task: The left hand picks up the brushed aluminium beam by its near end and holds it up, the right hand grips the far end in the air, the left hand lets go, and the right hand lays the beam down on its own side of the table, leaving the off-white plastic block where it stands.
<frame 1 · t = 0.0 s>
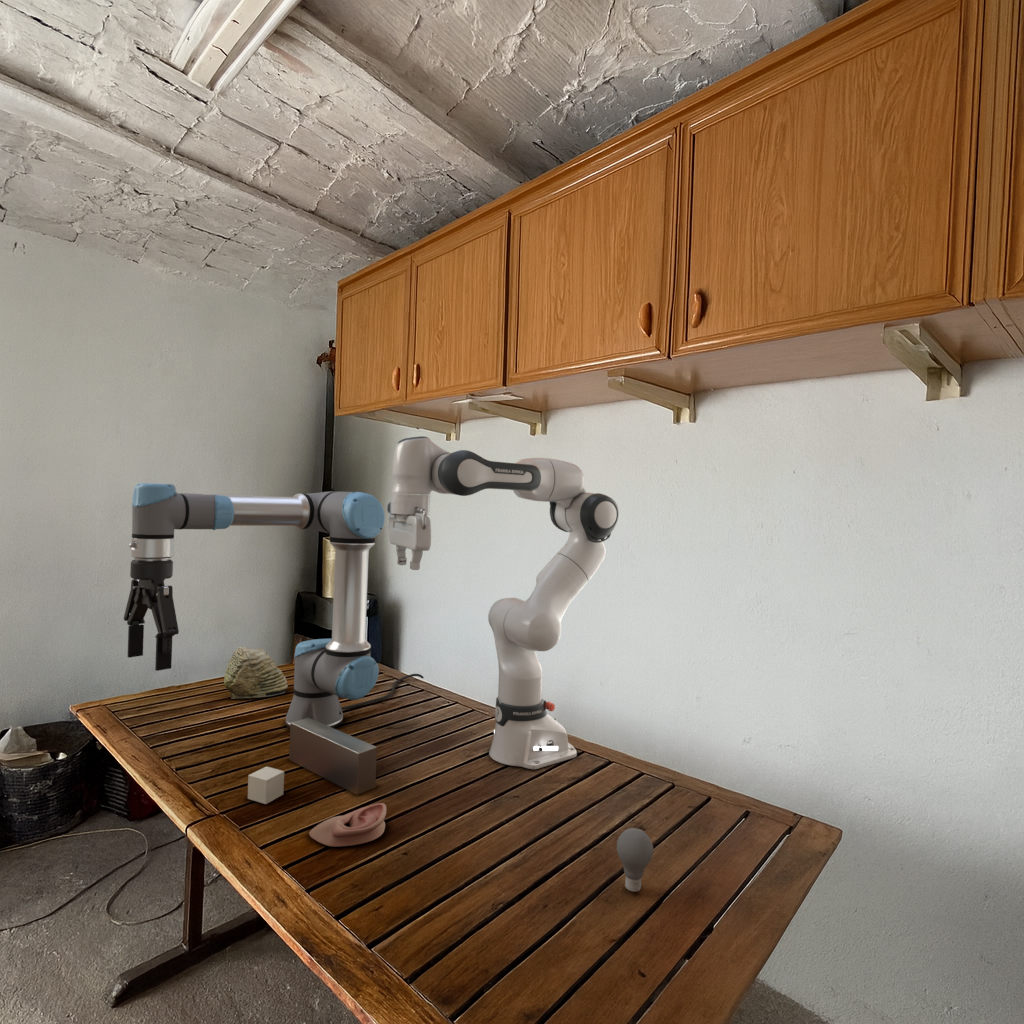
left hand: (148, 662, 129), 28 cm above the table, fingers open, 13 cm apart
right hand: (408, 567, 145), 48 cm above the table, fingers open, 8 cm apart
light bulb: (632, 890, 106), on the table
anatomical model: (348, 832, 120), on the table
beam: (330, 773, 145), on the table
plastic block: (265, 796, 133), on the table
fossil: (255, 695, 198), on the table
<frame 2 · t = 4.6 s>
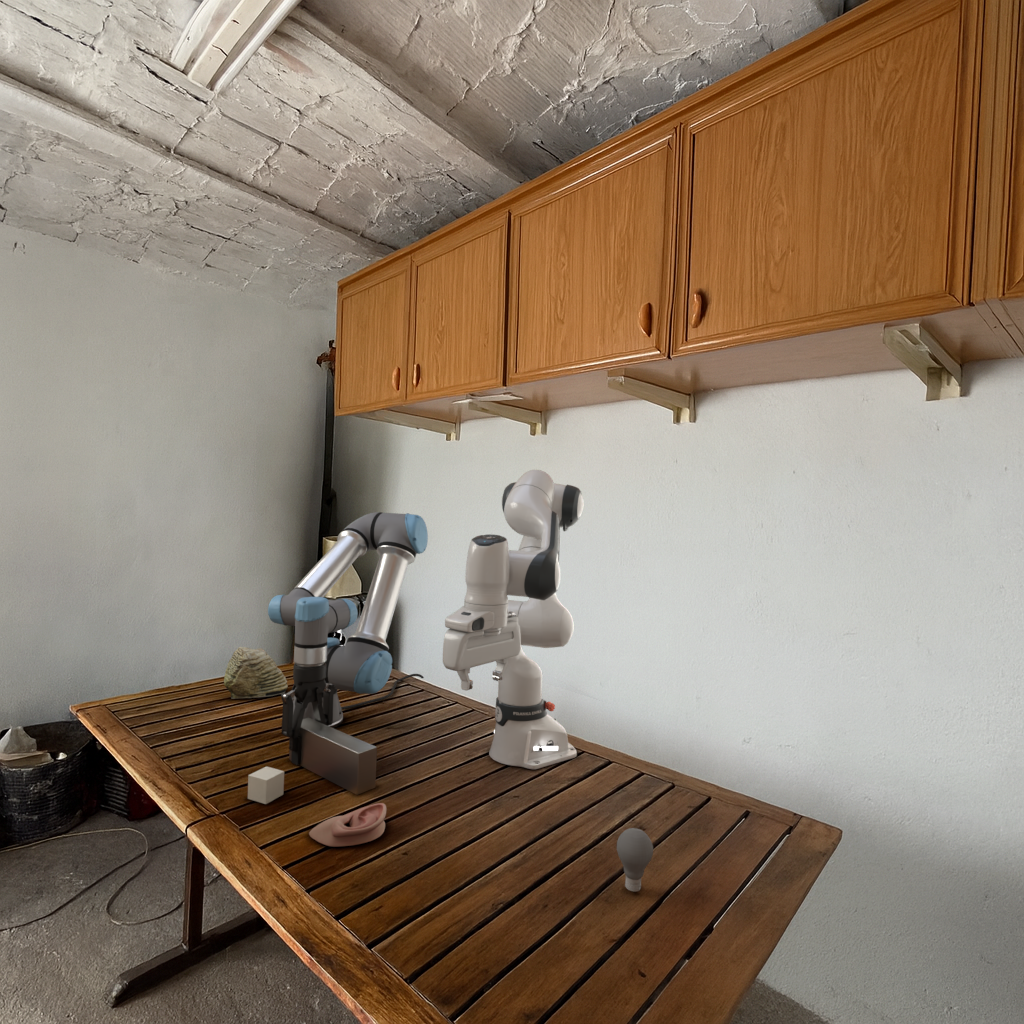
left hand: (306, 759, 151), 0 cm above the table, fingers closed on beam, 5 cm apart
right hand: (482, 684, 127), 27 cm above the table, fingers open, 8 cm apart
beam: (330, 773, 145), on the table, touching left hand
everything else where it was.
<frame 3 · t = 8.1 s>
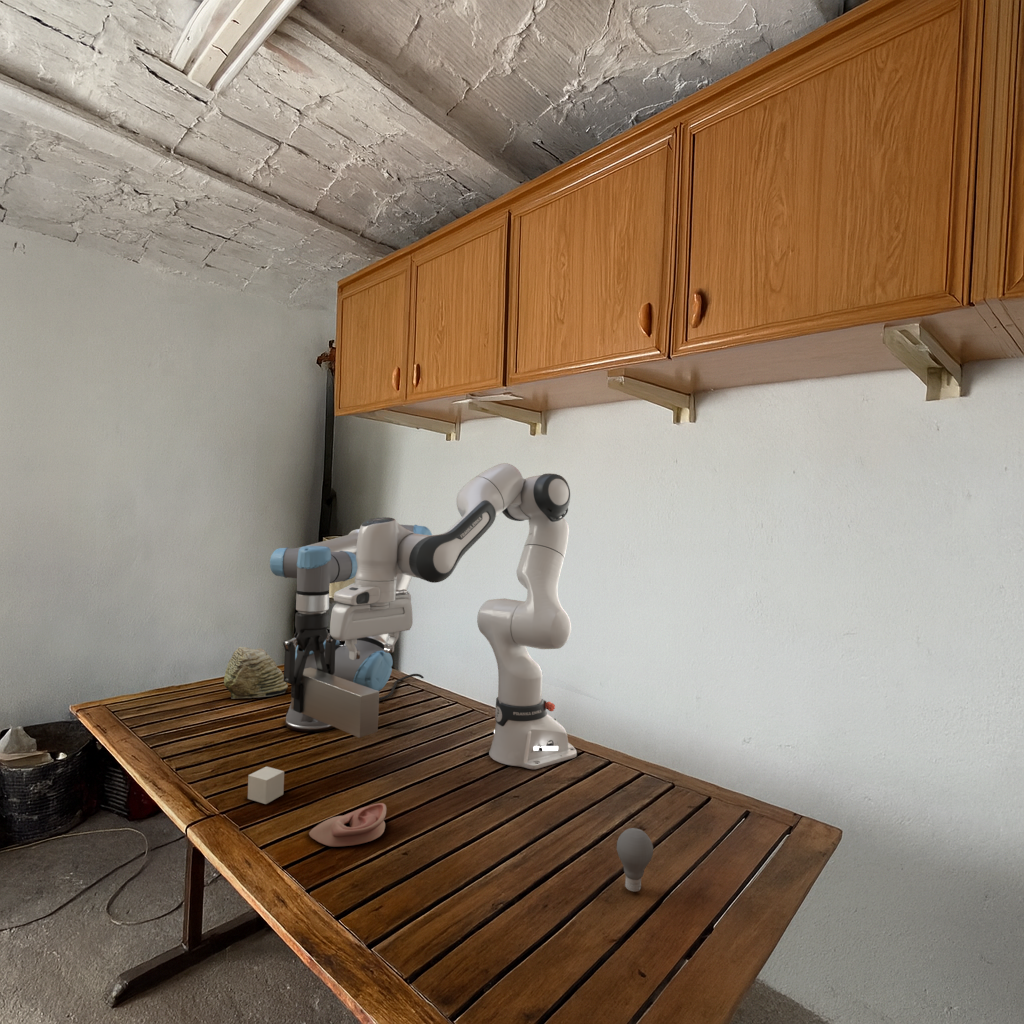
left hand: (308, 708, 151), 13 cm above the table, fingers closed on beam, 5 cm apart
right hand: (372, 655, 138), 29 cm above the table, fingers open, 8 cm apart
beam: (332, 719, 145), point 12 cm above the table, touching left hand
everything else where it was.
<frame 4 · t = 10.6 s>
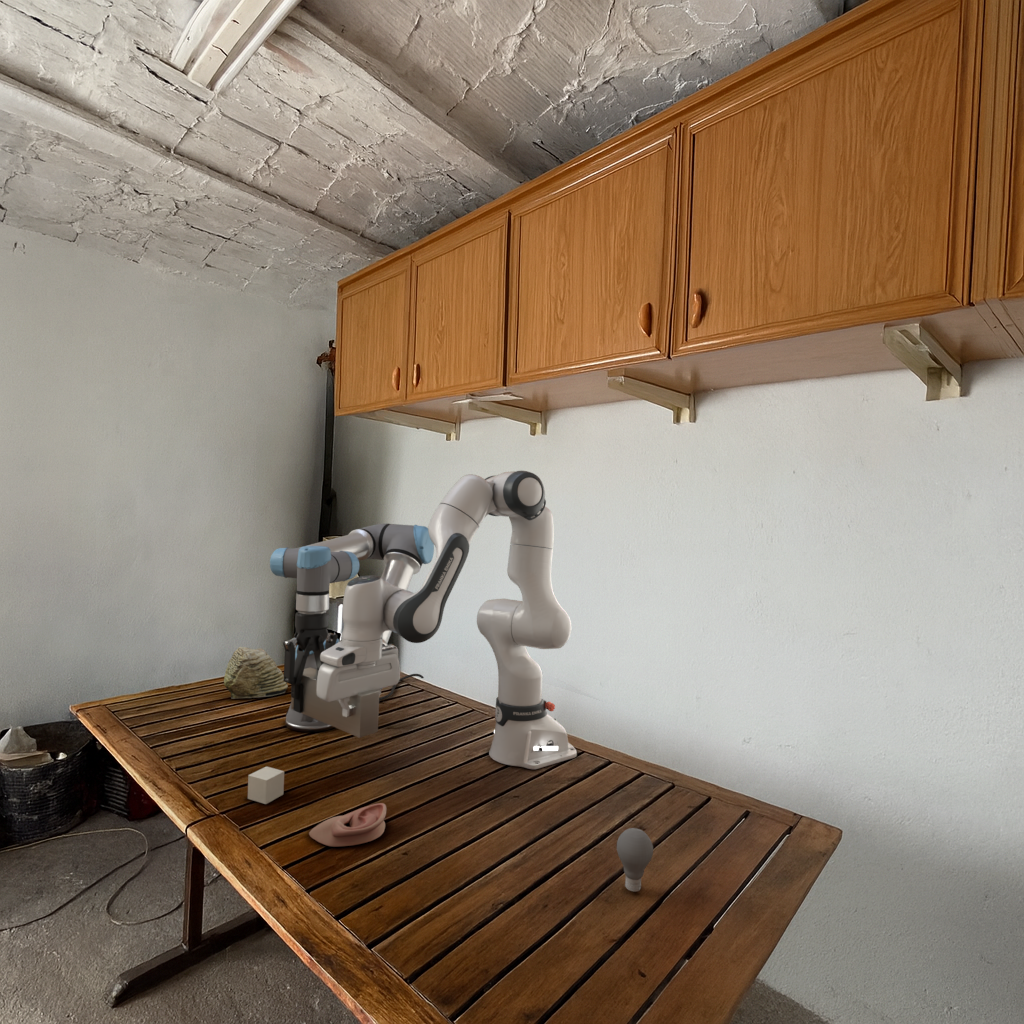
left hand: (308, 708, 151), 13 cm above the table, fingers closed on beam, 5 cm apart
right hand: (359, 712, 139), 16 cm above the table, fingers closed on beam, 5 cm apart
beam: (332, 719, 145), point 12 cm above the table, touching left hand, right hand
everything else where it was.
when the left hand's fingers open (13 cm above the table, at t = 11.5 s): beam stays where it is, held by the right hand.
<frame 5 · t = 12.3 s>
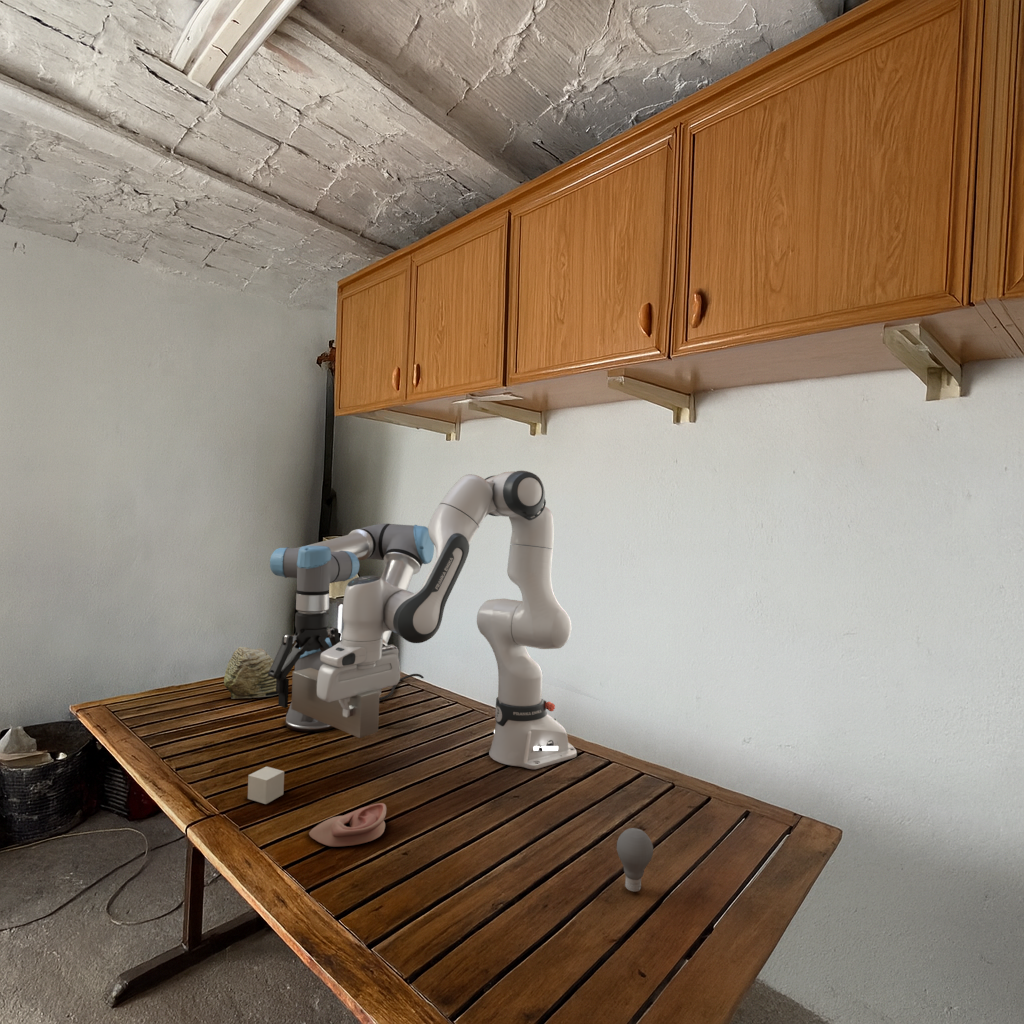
left hand: (308, 699, 151), 15 cm above the table, fingers open, 13 cm apart
right hand: (359, 712, 139), 16 cm above the table, fingers closed on beam, 5 cm apart
beam: (332, 720, 145), point 12 cm above the table, touching right hand
everything else where it was.
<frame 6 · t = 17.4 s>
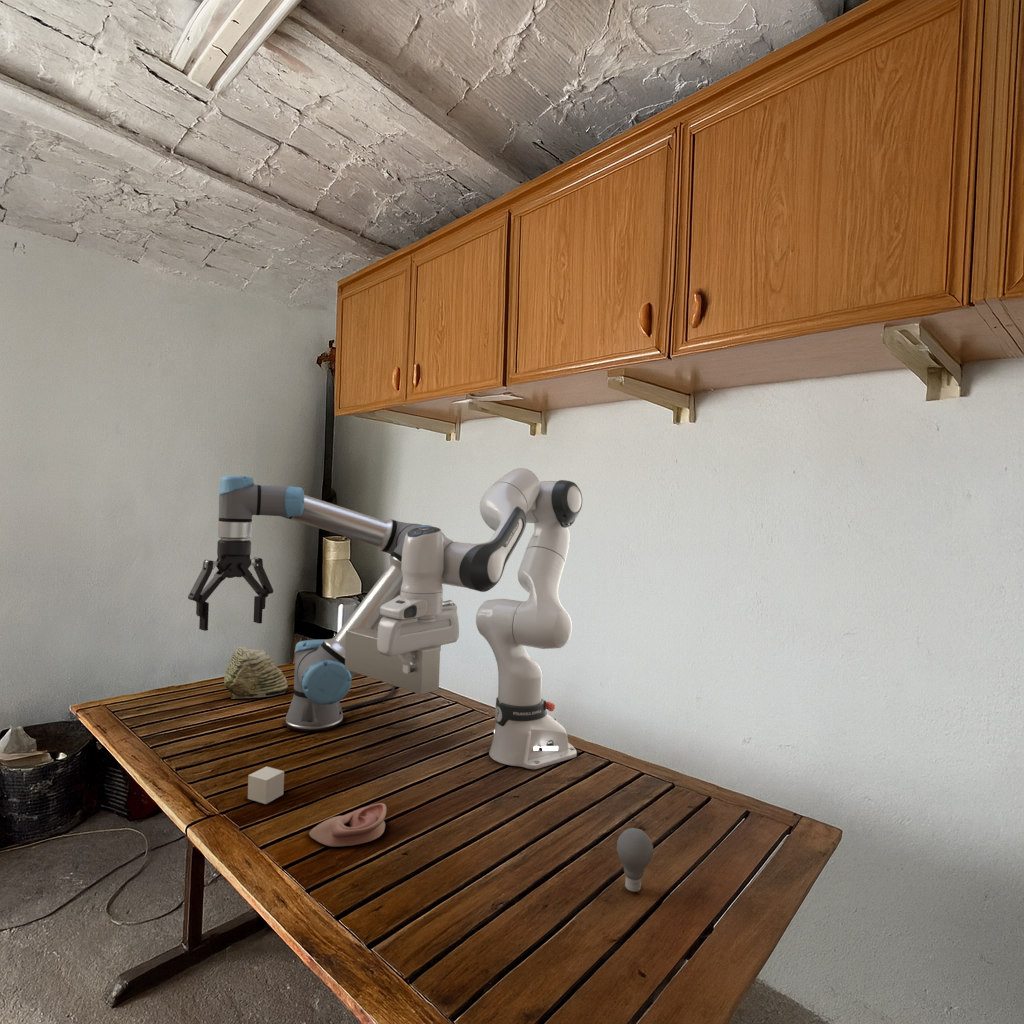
left hand: (231, 626, 154), 31 cm above the table, fingers open, 13 cm apart
right hand: (419, 669, 133), 28 cm above the table, fingers closed on beam, 5 cm apart
beam: (389, 678, 140), point 24 cm above the table, touching right hand
everything else where it was.
when the right hand's fingers open (5 cm above the table, at t = 24.2 s): beam stays where it is, on the table.
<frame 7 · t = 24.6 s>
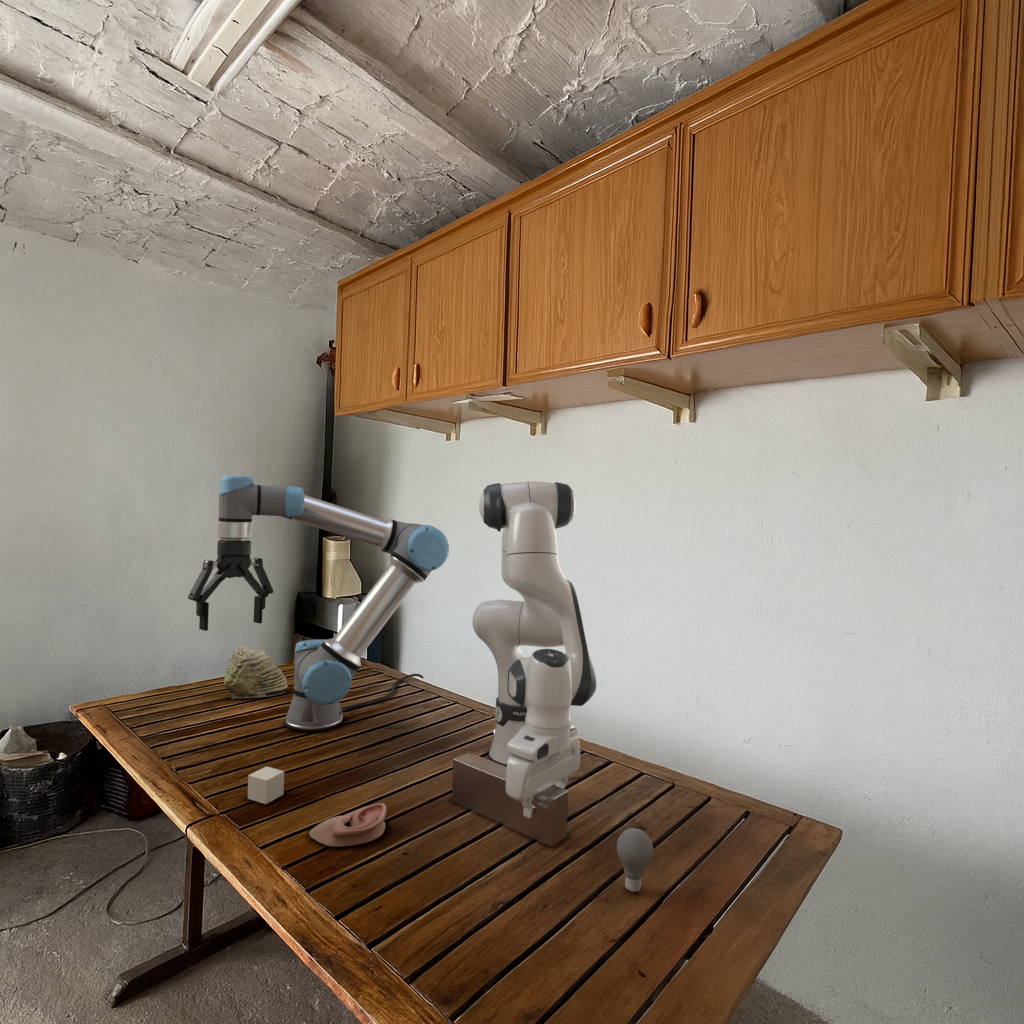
left hand: (231, 626, 154), 31 cm above the table, fingers open, 13 cm apart
right hand: (543, 807, 122), 5 cm above the table, fingers open, 8 cm apart
beam: (506, 818, 128), on the table
everything else where it was.
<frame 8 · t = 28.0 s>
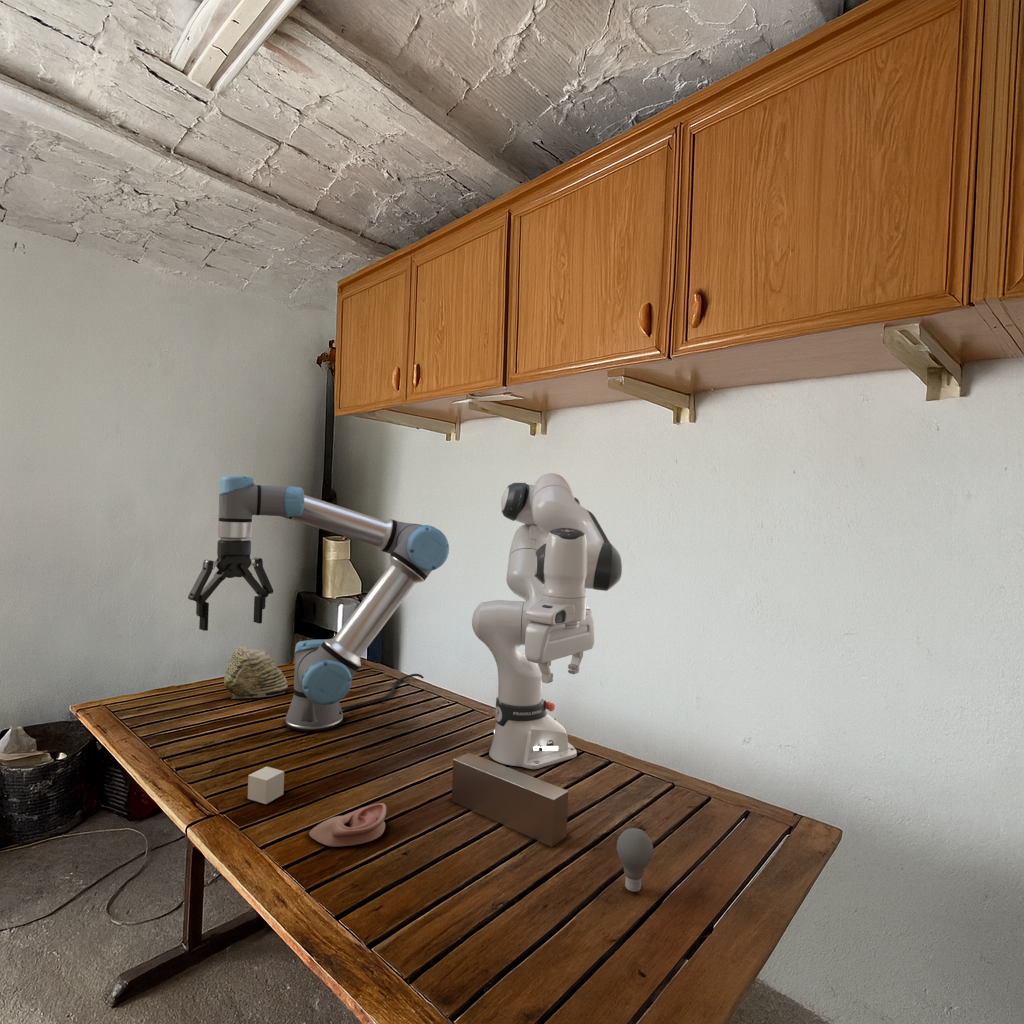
left hand: (231, 626, 154), 31 cm above the table, fingers open, 13 cm apart
right hand: (560, 677, 128), 29 cm above the table, fingers open, 8 cm apart
nothing on the table moved.
at the end: beam inside the target area (0.3 cm from its centre), on the table; both hands held the beam at the same time; the left hand is holding nothing; the right hand is holding nothing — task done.
